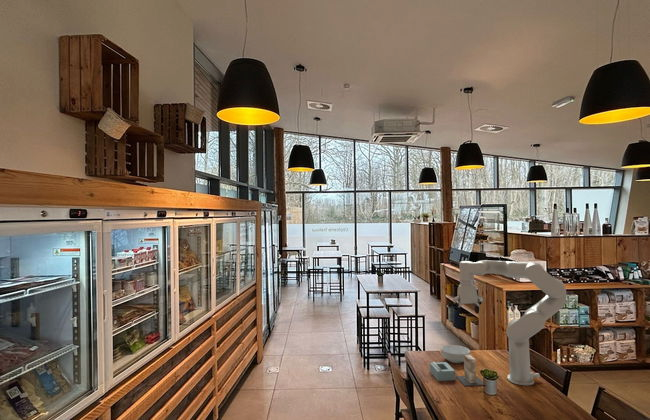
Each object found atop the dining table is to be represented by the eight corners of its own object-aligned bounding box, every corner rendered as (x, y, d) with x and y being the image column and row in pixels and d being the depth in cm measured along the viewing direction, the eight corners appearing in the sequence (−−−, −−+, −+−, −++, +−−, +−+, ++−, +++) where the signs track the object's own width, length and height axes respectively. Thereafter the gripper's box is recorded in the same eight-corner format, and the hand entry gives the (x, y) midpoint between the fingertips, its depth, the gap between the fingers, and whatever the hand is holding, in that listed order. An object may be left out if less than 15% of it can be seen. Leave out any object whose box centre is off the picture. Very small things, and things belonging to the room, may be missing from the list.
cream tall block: (470, 377, 189) (469, 354, 190) (476, 382, 183) (475, 359, 183) (464, 377, 189) (463, 354, 190) (470, 383, 183) (469, 359, 183)
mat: (475, 376, 192) (475, 375, 192) (485, 385, 181) (485, 384, 181) (455, 377, 191) (455, 376, 191) (464, 386, 180) (464, 385, 180)
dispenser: (446, 371, 200) (446, 360, 200) (455, 380, 188) (454, 369, 188) (430, 371, 199) (429, 361, 199) (437, 381, 187) (437, 370, 188)
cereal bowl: (472, 367, 204) (471, 355, 204) (442, 365, 208) (441, 353, 208) (468, 356, 220) (468, 345, 221) (440, 354, 225) (440, 343, 225)
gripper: (478, 281, 205) (480, 311, 204) (449, 282, 204) (450, 312, 203) (485, 283, 197) (486, 314, 196) (455, 284, 196) (456, 315, 196)
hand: (468, 313), depth 200 cm, fingers open, 9 cm apart
